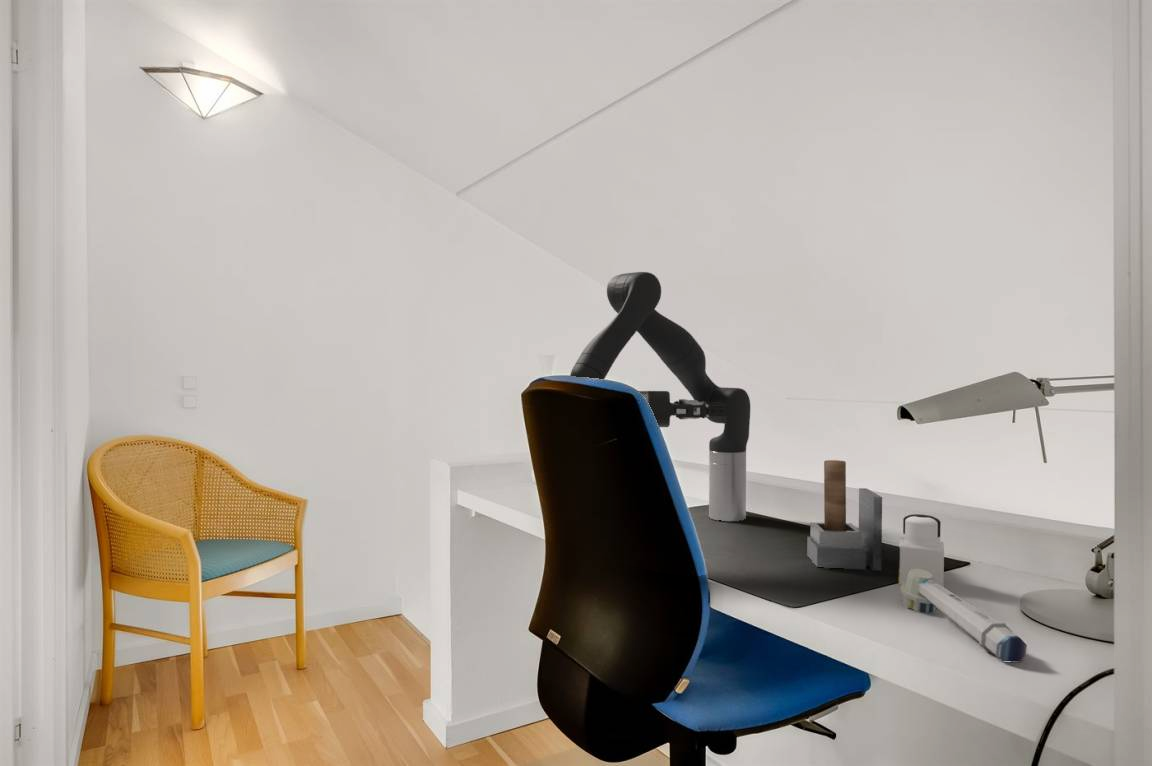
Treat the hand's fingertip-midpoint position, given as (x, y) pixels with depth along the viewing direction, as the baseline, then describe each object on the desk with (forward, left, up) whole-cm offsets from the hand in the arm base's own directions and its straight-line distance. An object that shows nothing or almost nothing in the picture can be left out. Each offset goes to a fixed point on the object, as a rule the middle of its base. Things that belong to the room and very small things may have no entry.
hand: (726, 409), depth 150 cm
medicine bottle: (+16, +33, -30) cm, 48 cm away
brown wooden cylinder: (+4, +21, -26) cm, 34 cm away
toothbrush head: (+39, +30, -31) cm, 58 cm away
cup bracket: (+4, +22, -30) cm, 38 cm away
